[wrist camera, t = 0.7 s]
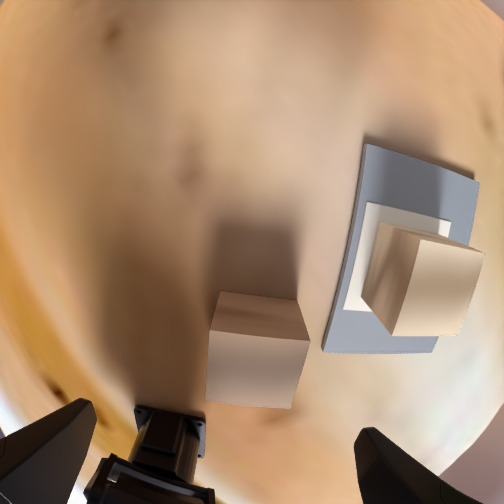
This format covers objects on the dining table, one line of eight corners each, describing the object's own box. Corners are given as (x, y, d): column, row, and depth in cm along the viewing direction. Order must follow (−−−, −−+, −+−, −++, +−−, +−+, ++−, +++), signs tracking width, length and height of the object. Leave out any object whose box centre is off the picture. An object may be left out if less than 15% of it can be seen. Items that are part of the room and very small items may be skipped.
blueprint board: (428, 348, 20) (432, 353, 19) (321, 347, 19) (323, 353, 19) (474, 182, 16) (480, 182, 15) (363, 144, 16) (367, 143, 15)
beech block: (419, 301, 18) (457, 335, 13) (360, 296, 17) (391, 336, 13) (438, 234, 16) (484, 253, 11) (378, 221, 16) (420, 239, 11)
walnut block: (283, 360, 20) (290, 408, 15) (214, 353, 20) (204, 400, 15) (297, 299, 18) (310, 341, 14) (220, 290, 18) (209, 329, 13)
